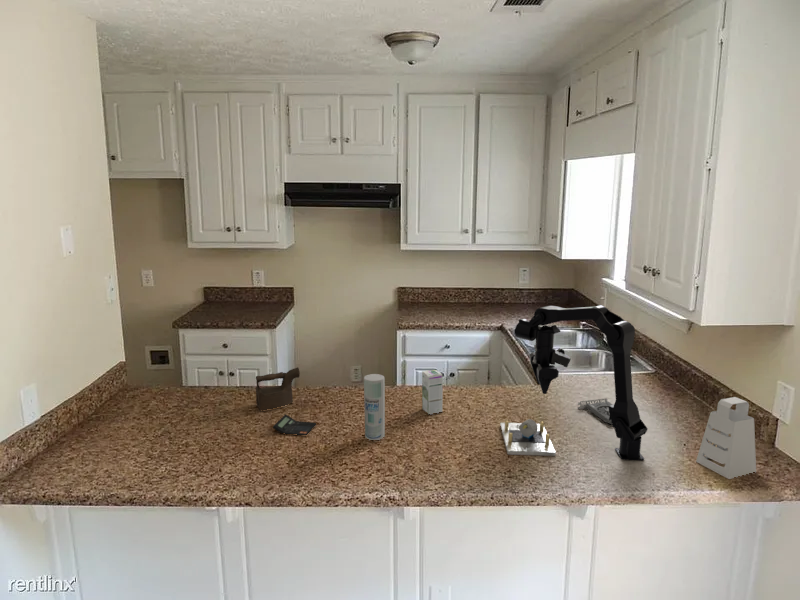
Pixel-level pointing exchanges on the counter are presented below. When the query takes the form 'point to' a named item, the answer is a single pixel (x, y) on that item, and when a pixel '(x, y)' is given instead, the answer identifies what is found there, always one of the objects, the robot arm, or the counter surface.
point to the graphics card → (598, 408)
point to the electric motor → (528, 428)
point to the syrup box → (432, 391)
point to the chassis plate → (526, 440)
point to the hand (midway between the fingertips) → (541, 388)
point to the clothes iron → (276, 390)
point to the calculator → (293, 426)
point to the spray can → (374, 406)
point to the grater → (729, 440)
